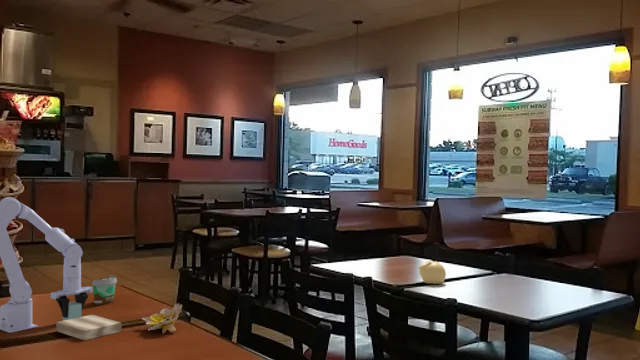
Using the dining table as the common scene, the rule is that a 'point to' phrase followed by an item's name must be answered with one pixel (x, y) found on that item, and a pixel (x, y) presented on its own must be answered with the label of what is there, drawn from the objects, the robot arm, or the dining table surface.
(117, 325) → the flat cream rectangular board
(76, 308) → the teal block
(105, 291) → the food container
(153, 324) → the decorative flower
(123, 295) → the dining table surface
